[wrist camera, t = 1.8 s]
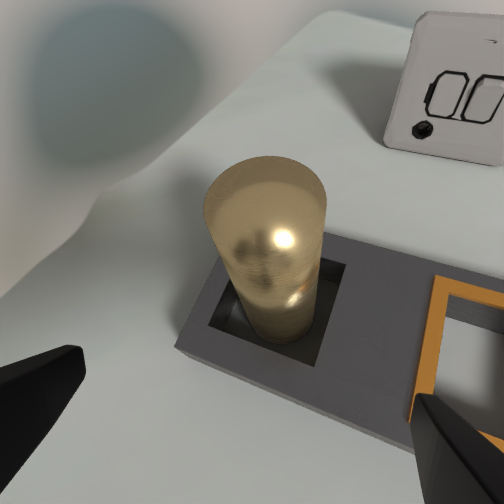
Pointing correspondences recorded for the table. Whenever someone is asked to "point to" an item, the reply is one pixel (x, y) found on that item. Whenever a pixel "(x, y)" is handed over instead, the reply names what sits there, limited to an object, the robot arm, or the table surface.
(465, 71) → the electrical switch
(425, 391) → the grey peg board
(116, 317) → the table surface
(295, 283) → the brass pin
